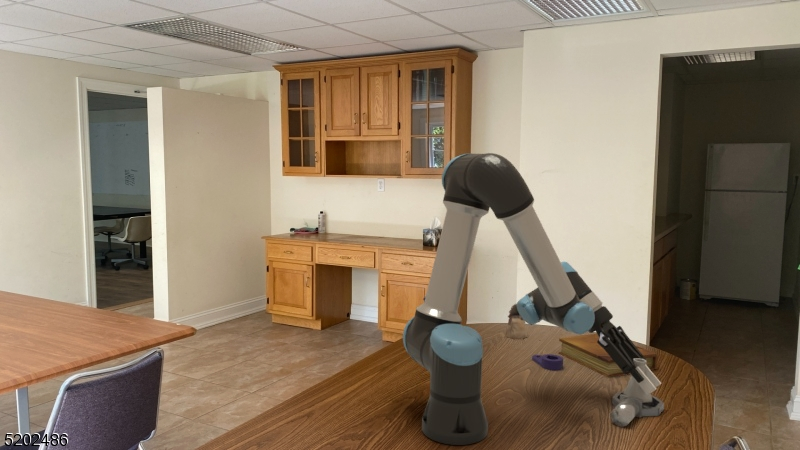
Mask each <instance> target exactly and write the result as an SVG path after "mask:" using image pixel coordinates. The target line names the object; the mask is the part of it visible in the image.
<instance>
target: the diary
mask: <svg viewBox="0 0 800 450" xmlns="http://www.w3.org/2000/svg"><path fill="white" fill-rule="evenodd" d="M599 339H600V337H599V336H598V334H597V333H590V334H589V333H588V334H580V335H576V336H566V337H559V338H558V341H559V342H560V343H561V351H558V354H559V355H560V356H563V357H565V358H567V359H569V360H572V361H573V362H576V363H577V364H580V365H581V366H583V367H586V368H587V369H590V370H592V371H594V372H596V373H598V374H600V375H603V376H604V377H606V378H613V376H614V377H619V376H618V375H621V376H624V375H623V374H625V373H624V372H623V371H622V370H621V369H620V368H619V366H618V365H617V364H616V363H615V362H614V360H613V359H612V358H611V357H610V356H609V354H608V353H607V352H606V351H605V350H604V349H603V348H602V347H601V346H600V345H599V344H598V343H597V341H598V340H599ZM635 346H636V347H637V348H638V350H639V351H640V352H641V353H642V355H643V356H644V357H645V358H646V365H647V367H648V368H649V369H650V370H652V371H654V370H653V369H656V370H657V369H658V360H659V359H658V358H659V356H658V354H657V353H655V352H653V351H651V350H648V349H645V348H643V347H640V346H638V345H635ZM627 375H630V374H629V373H628V374H627Z"/></svg>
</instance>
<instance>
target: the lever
mask: <svg viewBox="0 0 800 450" xmlns="http://www.w3.org/2000/svg"><path fill="white" fill-rule="evenodd" d="M531 356H532V357H531V358H532V359H531V360H532V361H533V362H534V363H535V364H537V365H538V366H540V368H543V369H544V370H546V371H551V372H553V371H554V372H555V371H556V372H557V371H558V372H559V371H561V370H563V369H564V356H563V357H562V355H558V354H551V353H550V354H548V353H546V354H543V355H541V354H533V355H531Z"/></svg>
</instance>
